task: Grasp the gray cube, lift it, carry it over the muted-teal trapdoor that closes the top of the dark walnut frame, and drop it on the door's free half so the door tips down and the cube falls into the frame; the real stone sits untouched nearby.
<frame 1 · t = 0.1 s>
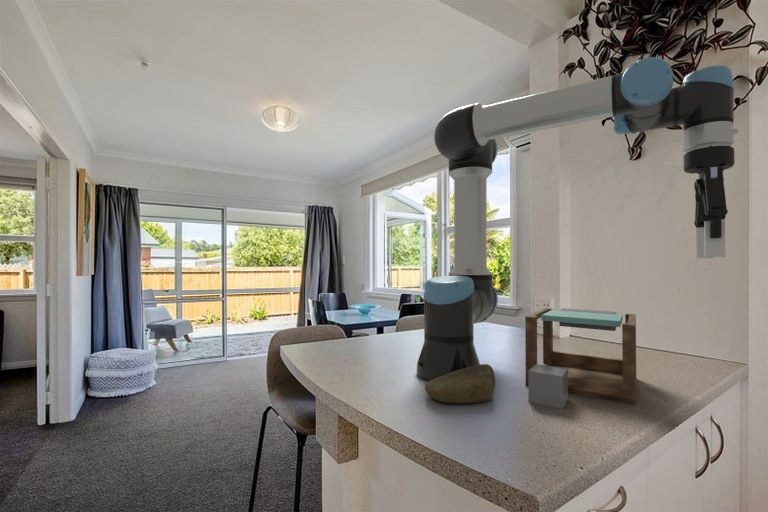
hand: (709, 258, 73), 28 cm above the counter, fingers open, 13 cm apart
gray cube: (548, 400, 73), on the counter
frame: (582, 381, 84), on the counter
trapdoor: (584, 322, 87), point 13 cm above the counter, hinge at 0.0°
stone: (462, 400, 73), on the counter
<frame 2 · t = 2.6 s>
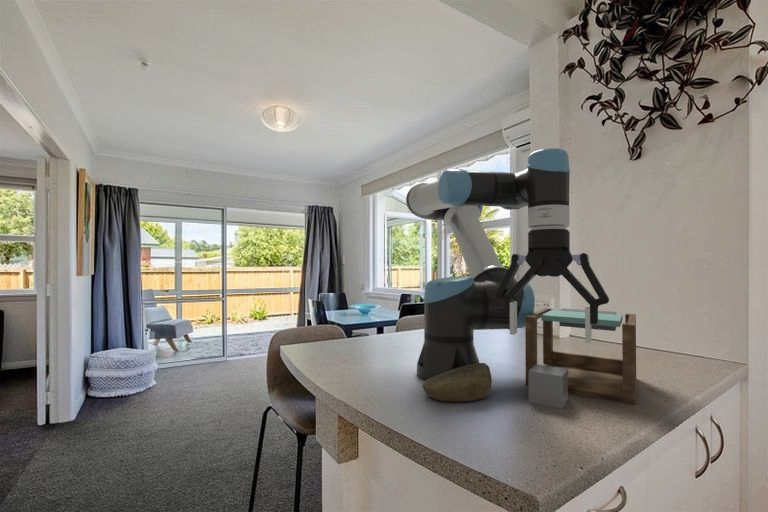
hand: (549, 337, 73), 12 cm above the counter, fingers open, 13 cm apart
stone: (459, 398, 74), on the counter
everything else where it was.
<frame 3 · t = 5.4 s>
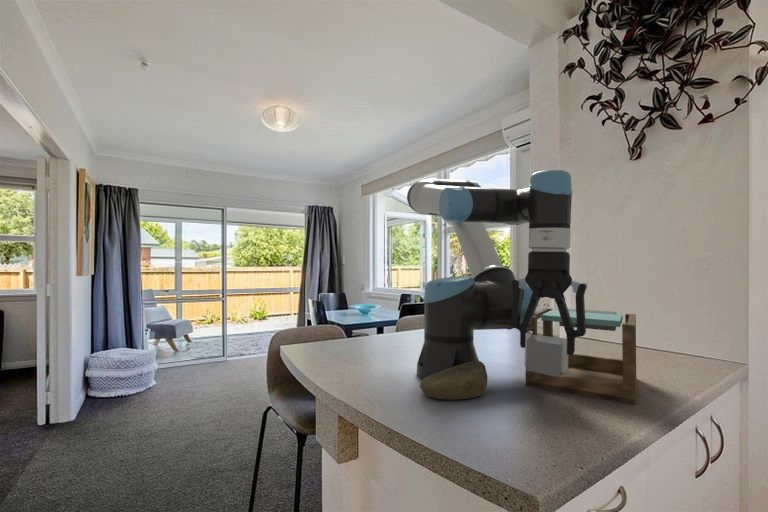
hand: (546, 367, 74), 6 cm above the counter, fingers closed on gray cube, 6 cm apart
gray cube: (545, 369, 73), point 6 cm above the counter, touching gripper
stone: (455, 396, 75), on the counter
everything else where it was.
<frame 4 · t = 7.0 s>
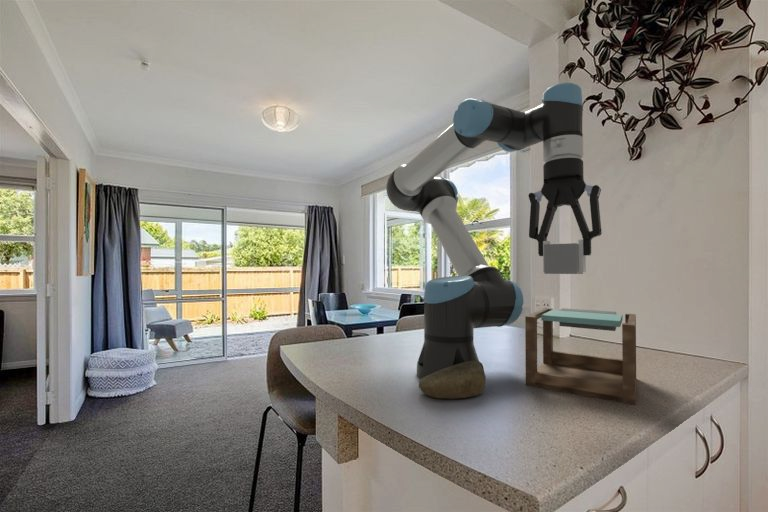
hand: (564, 271, 77), 25 cm above the counter, fingers closed on gray cube, 6 cm apart
gray cube: (563, 273, 77), point 25 cm above the counter, touching gripper
everything else where it was.
when the fingers open (18 cm above the counter, at t = 8.6 s): gray cube drops 8 cm and tips over, resting on trapdoor.
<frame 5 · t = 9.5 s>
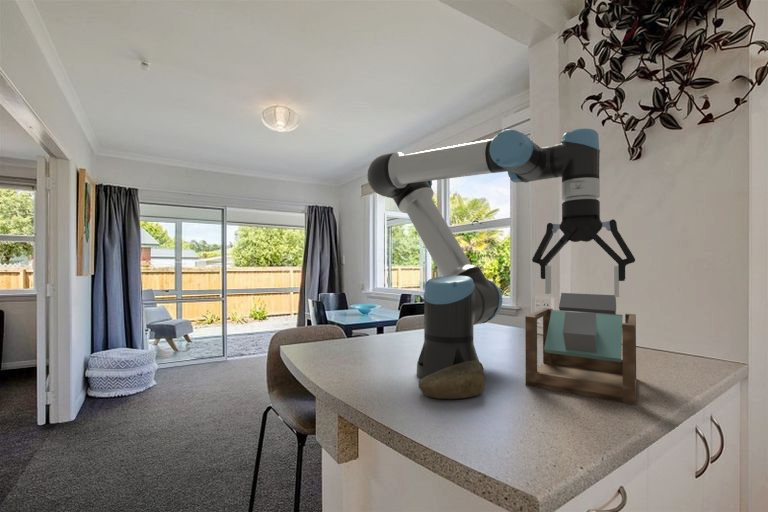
hand: (580, 295, 83), 20 cm above the counter, fingers open, 13 cm apart
gray cube: (581, 340, 84), point 9 cm above the counter, tilted 42°, touching trapdoor
trapdoor: (584, 327, 89), point 12 cm above the counter, hinge at 41.8°, touching gray cube
everything else where it was.
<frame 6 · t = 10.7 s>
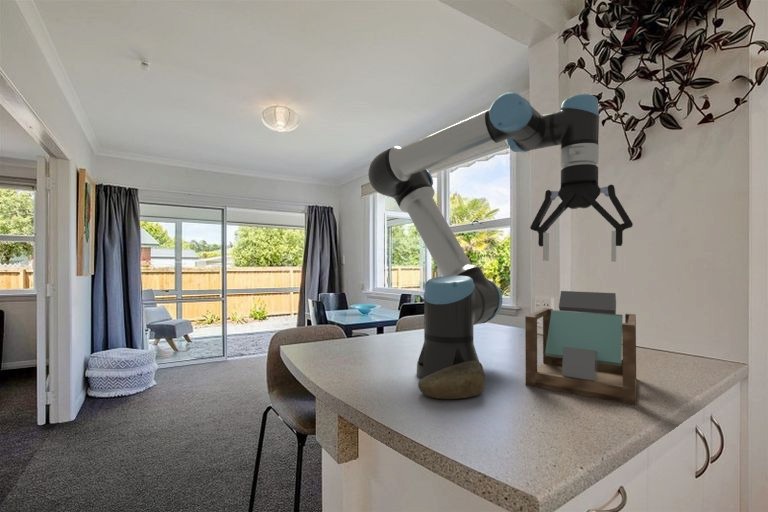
hand: (578, 261, 84), 27 cm above the counter, fingers open, 13 cm apart
gray cube: (582, 364, 82), point 5 cm above the counter, tilted 76°, touching frame, trapdoor
trapdoor: (585, 327, 89), point 11 cm above the counter, hinge at 49.1°, touching gray cube
everything else where it was.
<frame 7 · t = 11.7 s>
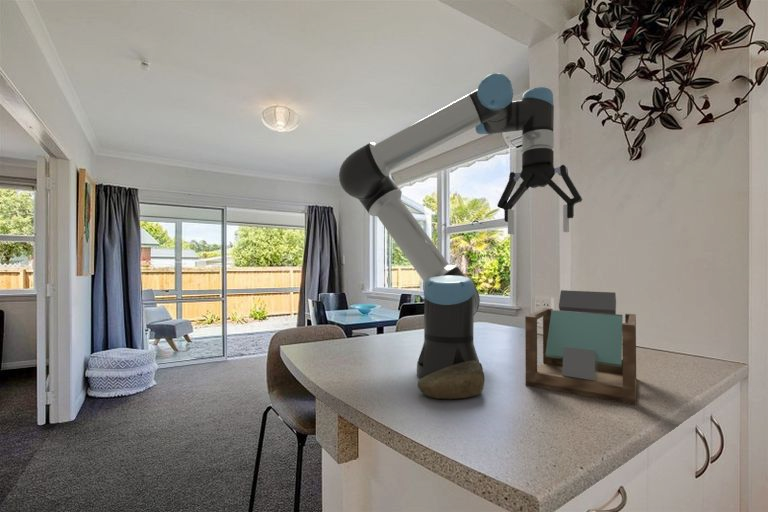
hand: (537, 233, 96), 35 cm above the counter, fingers open, 13 cm apart
gray cube: (582, 367, 82), point 4 cm above the counter, tilted 70°, touching frame, trapdoor
trapdoor: (585, 327, 89), point 11 cm above the counter, hinge at 51.7°, touching gray cube
everything else where it was.
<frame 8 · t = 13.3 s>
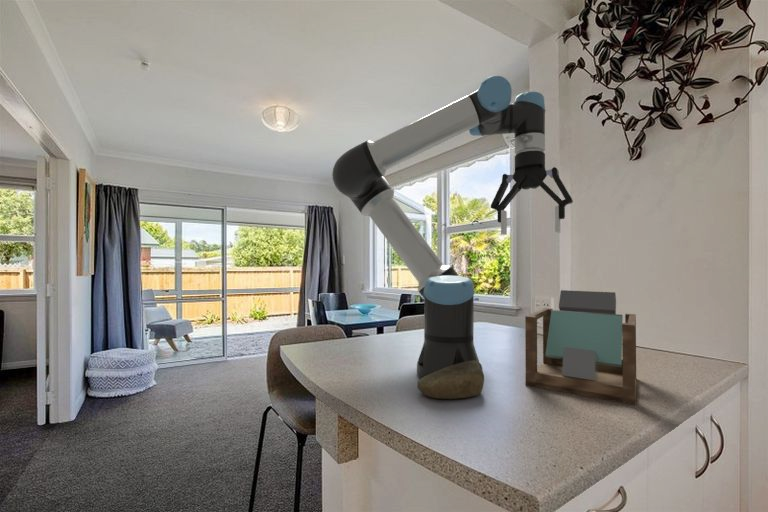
hand: (529, 233, 98), 35 cm above the counter, fingers open, 13 cm apart
trapdoor: (585, 327, 89), point 11 cm above the counter, hinge at 52.0°, touching gray cube
everything else where it was.
at the end: gray cube point 3.8 cm above the counter; the gripper is holding nothing; gray cube moved 15.6 cm from its start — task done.
